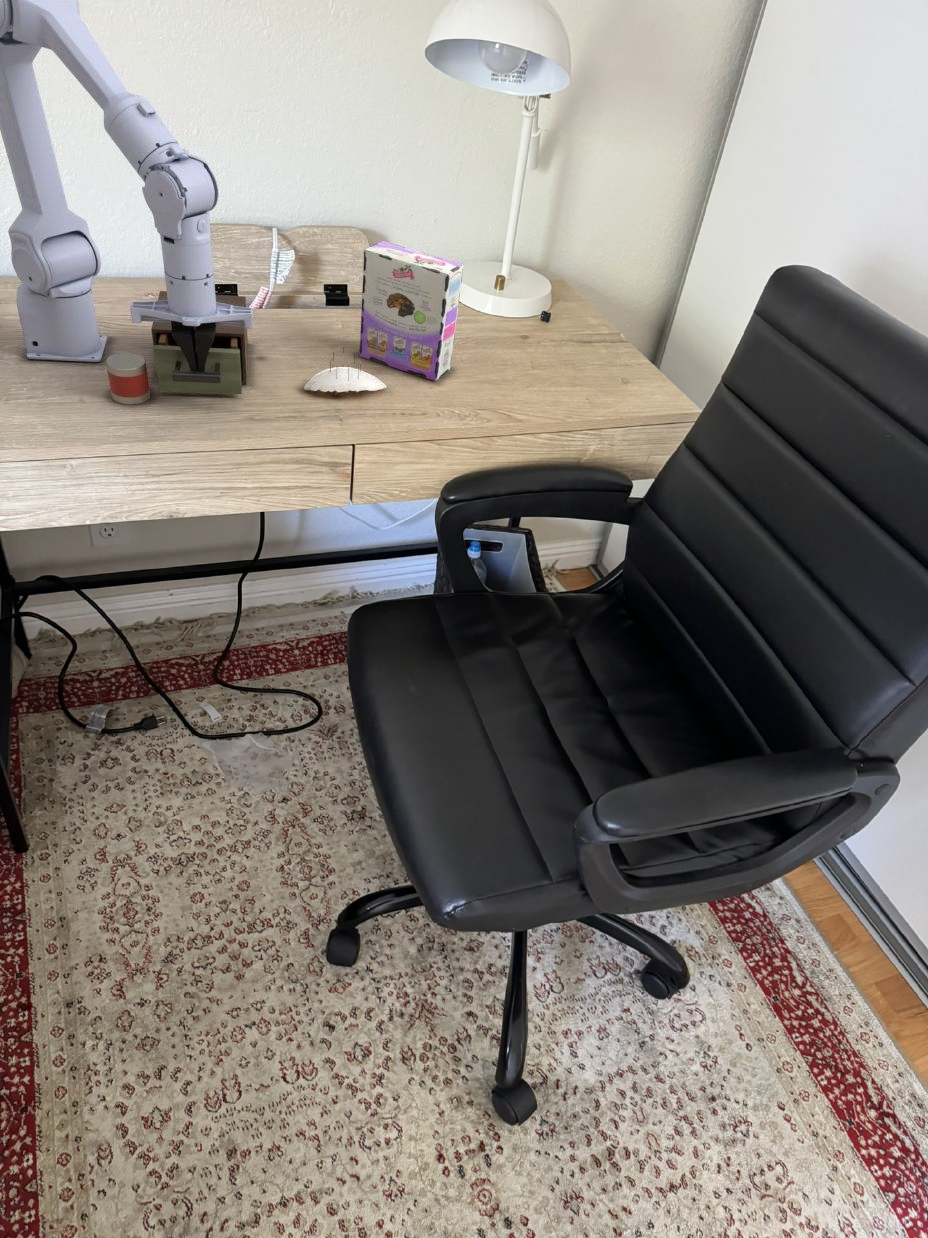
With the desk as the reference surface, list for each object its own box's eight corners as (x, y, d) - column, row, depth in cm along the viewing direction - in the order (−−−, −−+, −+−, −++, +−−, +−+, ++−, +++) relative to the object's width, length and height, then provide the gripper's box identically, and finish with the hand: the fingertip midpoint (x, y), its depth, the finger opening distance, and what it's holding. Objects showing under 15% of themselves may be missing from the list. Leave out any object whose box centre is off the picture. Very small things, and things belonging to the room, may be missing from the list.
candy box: (451, 369, 127) (466, 263, 116) (435, 383, 123) (449, 273, 112) (375, 343, 130) (382, 237, 119) (357, 356, 126) (362, 247, 115)
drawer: (241, 409, 108) (238, 367, 104) (156, 406, 105) (150, 363, 101) (243, 354, 120) (241, 315, 116) (166, 351, 117) (161, 310, 113)
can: (109, 404, 106) (103, 368, 102) (114, 386, 109) (108, 351, 106) (148, 405, 107) (143, 370, 103) (152, 387, 110) (147, 353, 107)
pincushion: (381, 380, 121) (384, 344, 117) (390, 400, 117) (393, 363, 113) (301, 381, 118) (301, 343, 114) (307, 401, 113) (308, 363, 110)
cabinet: (246, 384, 115) (244, 333, 110) (157, 381, 112) (151, 328, 107) (247, 344, 124) (245, 296, 119) (165, 340, 121) (159, 290, 116)
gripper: (121, 280, 93) (137, 388, 102) (250, 287, 96) (255, 392, 105) (128, 258, 98) (143, 364, 107) (251, 266, 101) (256, 368, 110)
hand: (199, 376), depth 106 cm, fingers closed, pressing on drawer
